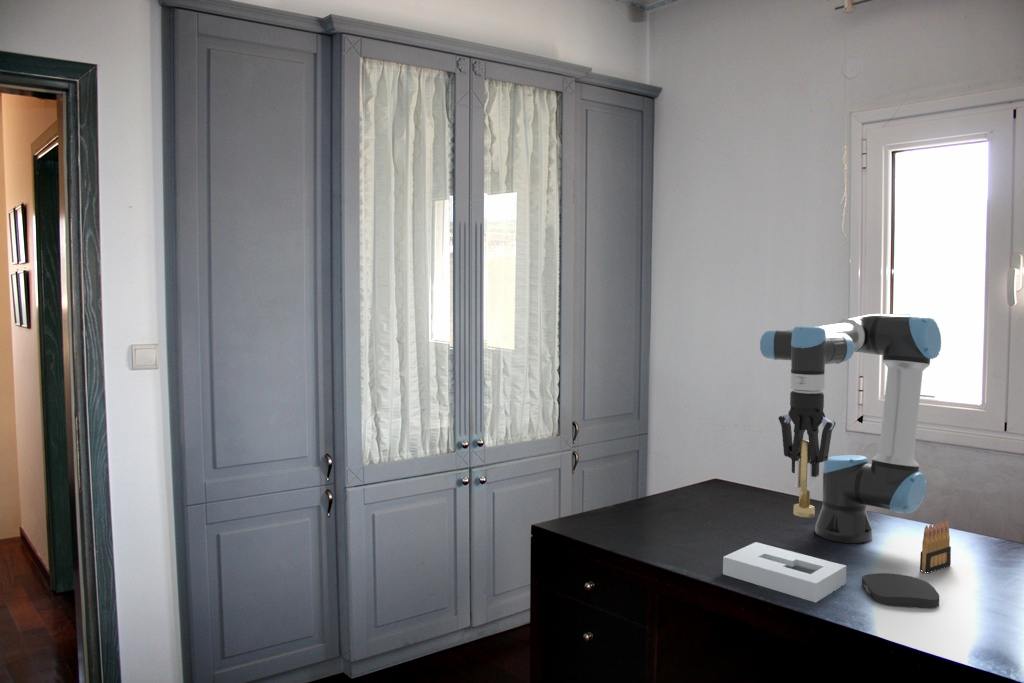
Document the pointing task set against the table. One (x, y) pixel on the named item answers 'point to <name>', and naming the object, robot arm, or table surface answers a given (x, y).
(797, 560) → the keyhole plate
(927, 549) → the ammunition clip
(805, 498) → the brass peg
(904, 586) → the media streaming box
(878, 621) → the table surface
